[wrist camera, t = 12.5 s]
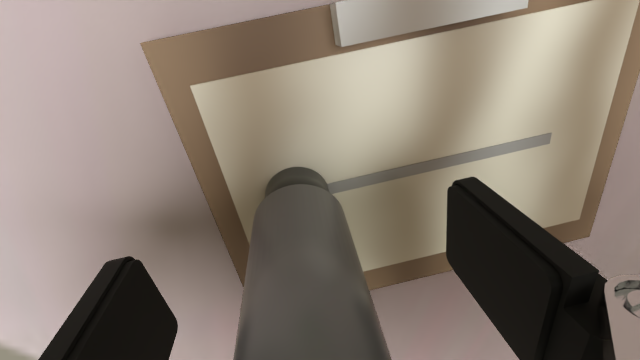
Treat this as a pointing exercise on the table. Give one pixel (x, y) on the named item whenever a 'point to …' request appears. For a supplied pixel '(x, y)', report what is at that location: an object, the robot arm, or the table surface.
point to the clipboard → (406, 114)
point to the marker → (305, 279)
